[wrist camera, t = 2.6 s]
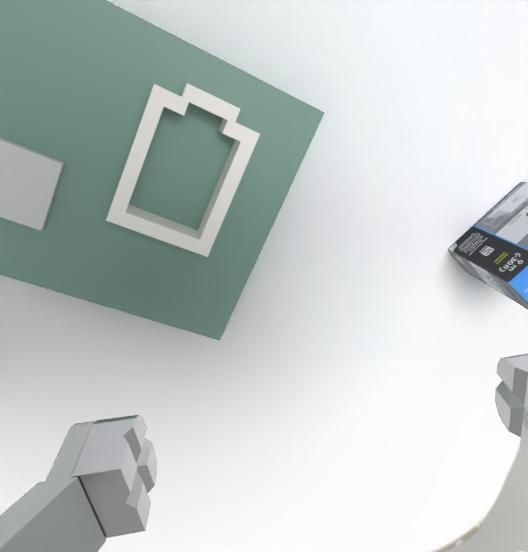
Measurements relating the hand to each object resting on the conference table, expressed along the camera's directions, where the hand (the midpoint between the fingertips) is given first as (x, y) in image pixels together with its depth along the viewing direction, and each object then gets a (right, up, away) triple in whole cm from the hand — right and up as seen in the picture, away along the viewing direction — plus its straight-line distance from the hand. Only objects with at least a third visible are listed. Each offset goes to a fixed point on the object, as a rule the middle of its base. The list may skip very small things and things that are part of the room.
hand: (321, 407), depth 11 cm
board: (-12, +11, +23) cm, 28 cm away
